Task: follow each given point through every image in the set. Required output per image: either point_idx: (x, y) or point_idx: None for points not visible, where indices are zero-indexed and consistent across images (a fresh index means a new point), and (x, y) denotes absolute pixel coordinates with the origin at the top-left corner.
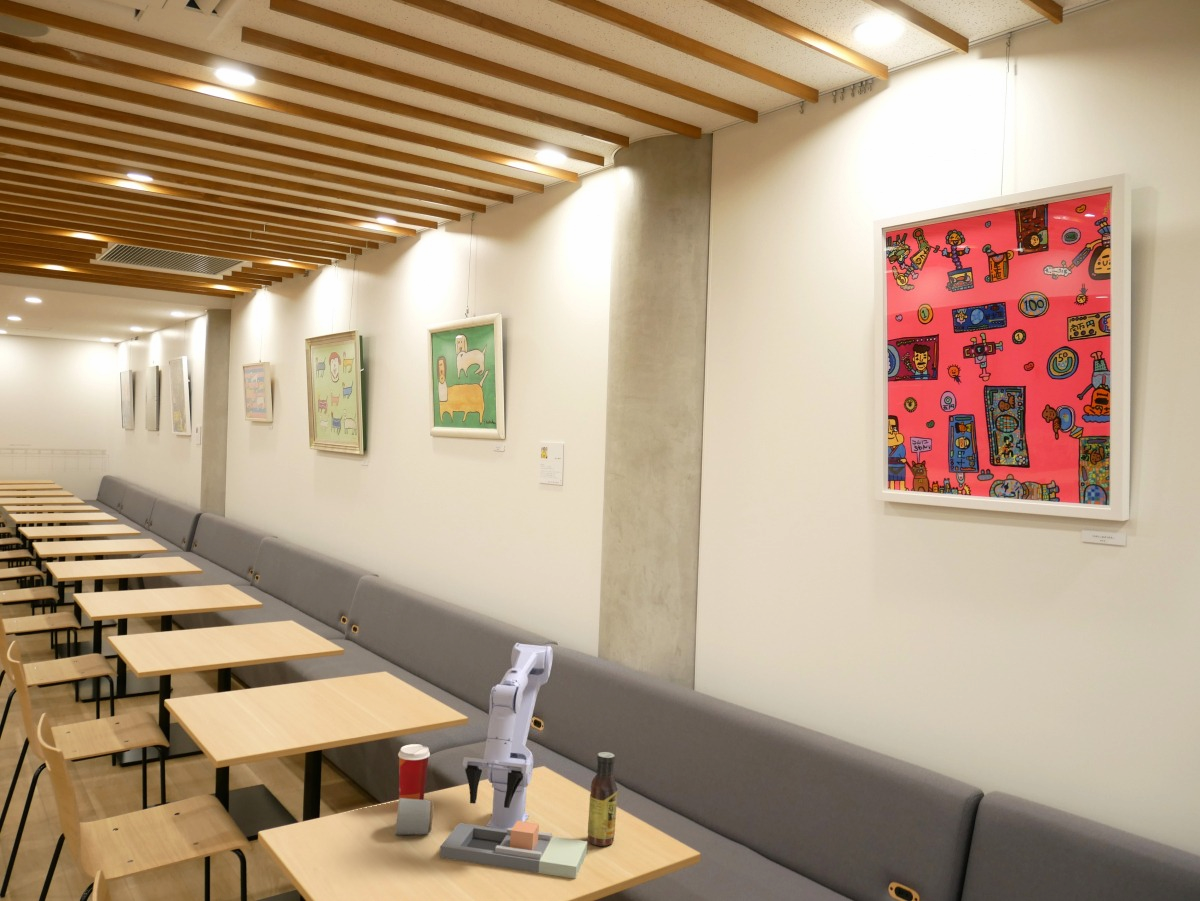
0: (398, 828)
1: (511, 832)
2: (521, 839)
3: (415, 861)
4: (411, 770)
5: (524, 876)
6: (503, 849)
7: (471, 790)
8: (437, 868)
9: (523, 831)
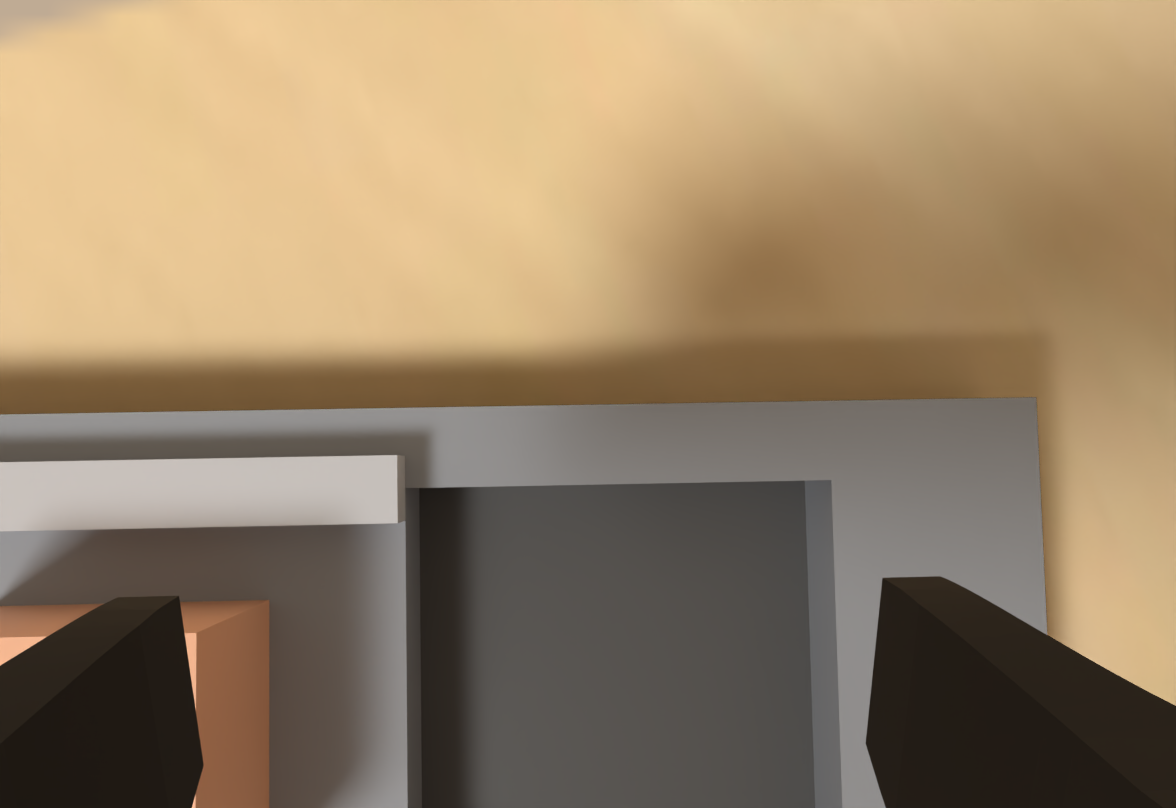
0: None
1: (196, 630)
2: None
3: (1170, 265)
4: None
5: (59, 314)
6: (295, 457)
7: (1070, 678)
8: (918, 203)
9: (5, 658)
